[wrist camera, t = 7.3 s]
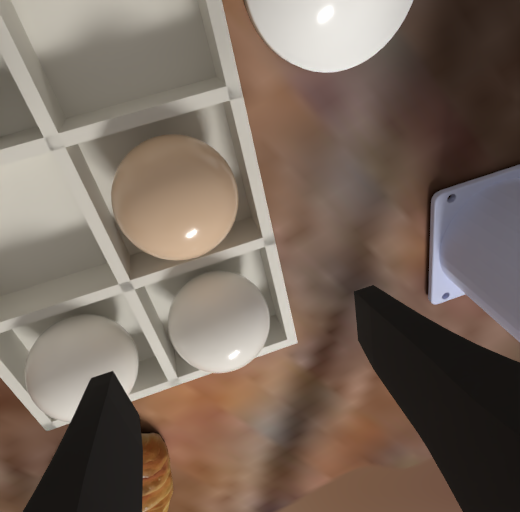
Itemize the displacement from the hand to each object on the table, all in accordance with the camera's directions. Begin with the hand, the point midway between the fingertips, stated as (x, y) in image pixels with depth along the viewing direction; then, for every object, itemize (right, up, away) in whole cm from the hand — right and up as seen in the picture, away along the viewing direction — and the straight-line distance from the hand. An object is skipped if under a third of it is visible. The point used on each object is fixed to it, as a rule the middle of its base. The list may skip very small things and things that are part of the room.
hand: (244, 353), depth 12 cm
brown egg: (-3, +6, +6) cm, 9 cm away
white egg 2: (-2, +1, +10) cm, 10 cm away
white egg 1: (-8, -1, +9) cm, 12 cm away
